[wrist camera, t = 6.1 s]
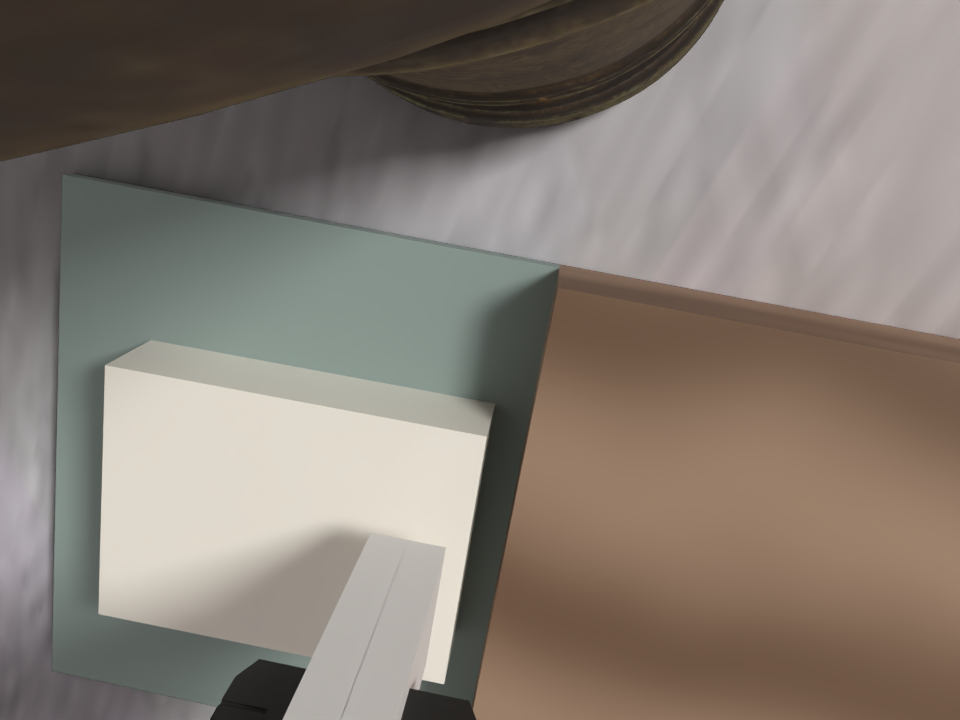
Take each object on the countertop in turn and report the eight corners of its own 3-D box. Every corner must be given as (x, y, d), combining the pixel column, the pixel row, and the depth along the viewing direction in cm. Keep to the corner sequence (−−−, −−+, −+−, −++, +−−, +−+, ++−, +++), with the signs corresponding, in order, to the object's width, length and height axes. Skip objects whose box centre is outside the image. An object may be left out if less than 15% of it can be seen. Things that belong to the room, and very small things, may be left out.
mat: (72, 173, 19) (61, 174, 18) (559, 264, 18) (559, 267, 18) (60, 661, 23) (52, 670, 22) (462, 748, 22) (460, 759, 22)
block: (151, 339, 19) (105, 365, 17) (495, 403, 19) (486, 436, 17) (141, 568, 21) (98, 614, 19) (455, 631, 21) (443, 684, 19)
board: (559, 264, 18) (558, 288, 16) (1125, 370, 18) (1212, 410, 15) (462, 748, 22) (449, 825, 20) (924, 848, 22) (968, 941, 19)
